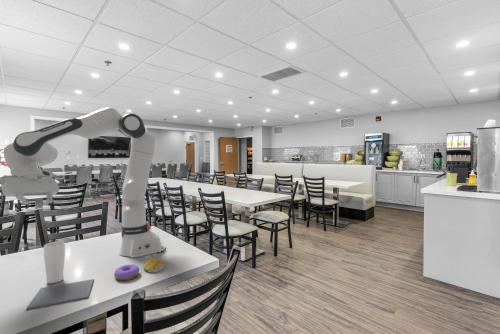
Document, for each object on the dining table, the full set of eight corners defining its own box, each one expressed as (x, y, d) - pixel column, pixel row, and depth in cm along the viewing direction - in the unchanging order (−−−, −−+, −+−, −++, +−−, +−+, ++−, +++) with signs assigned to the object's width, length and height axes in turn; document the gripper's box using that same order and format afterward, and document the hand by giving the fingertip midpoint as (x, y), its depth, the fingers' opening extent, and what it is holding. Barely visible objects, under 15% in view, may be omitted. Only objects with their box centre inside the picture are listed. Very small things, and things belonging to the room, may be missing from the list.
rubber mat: (93, 280, 101) (93, 279, 101) (88, 298, 88) (88, 296, 88) (40, 289, 94) (40, 288, 94) (26, 310, 81) (26, 308, 81)
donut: (115, 272, 108) (117, 261, 108) (138, 273, 111) (140, 262, 112) (111, 283, 99) (114, 270, 99) (136, 283, 102) (139, 272, 102)
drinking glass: (69, 278, 103) (69, 242, 102) (51, 286, 96) (51, 247, 96) (58, 275, 105) (57, 240, 104) (40, 283, 98) (39, 245, 98)
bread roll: (155, 263, 118) (155, 255, 118) (167, 268, 114) (167, 259, 113) (139, 269, 112) (139, 261, 111) (151, 275, 107) (151, 265, 107)
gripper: (2, 170, 98) (14, 200, 95) (54, 173, 118) (66, 197, 115) (-8, 179, 99) (4, 209, 96) (46, 180, 119) (57, 205, 116)
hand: (38, 202), depth 106 cm, fingers open, 8 cm apart
